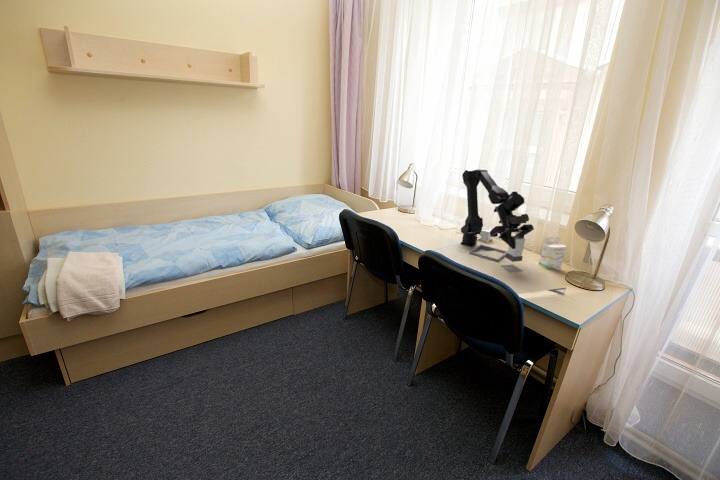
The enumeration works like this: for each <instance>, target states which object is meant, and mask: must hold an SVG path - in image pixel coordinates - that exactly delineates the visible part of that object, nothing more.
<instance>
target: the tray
mask: <svg viewBox="0 0 720 480" xmlns="http://www.w3.org/2000/svg"><path fill="white" fill-rule="evenodd" d="M493 251H496V252H499V253H503V254H501V255H500V256H499V257H498V258H496V257H495V258H494V257H493V256H492V257H491V256H488V255H485V254H481V252H483V253H484V252H493ZM506 253H508V250H503V249H500V248H496V247H492V246H488V245H485V244H478V245H476V246H474V248H472V249H471V250H470V251H469V252H468V254H470V255H473V256H477V257H481V258H484V259H487V260H490V261H494V262H497V263H498V262H500V261H501V260H502V259H503V258H505V256H506Z"/></svg>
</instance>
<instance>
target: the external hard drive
mask: <svg viewBox="0 0 720 480" xmlns="http://www.w3.org/2000/svg"><path fill="white" fill-rule="evenodd" d="M566 290H567V287H560V288H552V289H551V288H550V289H548V292H549V291H550V292H552V293H556V294H559V295H564V294H565V293H566Z"/></svg>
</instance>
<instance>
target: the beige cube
mask: <svg viewBox="0 0 720 480" xmlns="http://www.w3.org/2000/svg"><path fill="white" fill-rule="evenodd" d="M490 231H491V230H481V232H480V234H479V235H480V236H481V238H480V240H479V241H481V242H486V243H489V242H490V241H491V240H492V238H493V237H491V236H490Z"/></svg>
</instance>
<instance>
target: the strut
mask: <svg viewBox="0 0 720 480" xmlns="http://www.w3.org/2000/svg"><path fill="white" fill-rule="evenodd" d="M511 237H512V240H513V243H514V246H515V249H512V248H511V247H510V246H509V245H508V250H507V251H508V253H506V256H504V258H506V259H508V260H509V261H511V262H522V261H523V258H524V256H522V255H523V251H524V247H525V242H526V238H525V237H524V238H522V237H520V236H515V235H513V236H512V235H511Z"/></svg>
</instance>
